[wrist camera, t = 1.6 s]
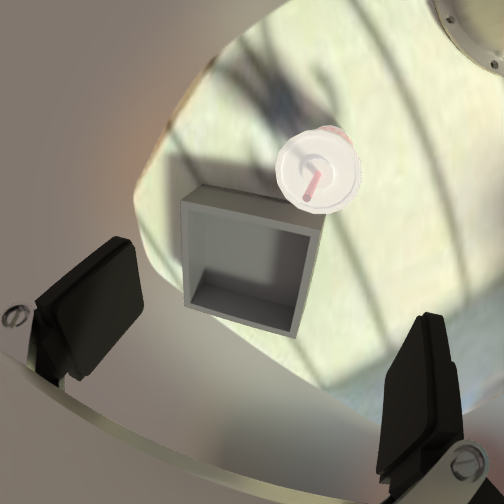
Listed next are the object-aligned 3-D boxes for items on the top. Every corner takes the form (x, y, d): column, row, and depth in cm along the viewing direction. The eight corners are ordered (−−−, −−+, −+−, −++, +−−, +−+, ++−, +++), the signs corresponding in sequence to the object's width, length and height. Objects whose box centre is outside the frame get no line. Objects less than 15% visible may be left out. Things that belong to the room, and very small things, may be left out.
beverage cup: (357, 184, 30) (352, 256, 18) (295, 174, 31) (251, 237, 20) (365, 122, 26) (370, 152, 15) (299, 113, 28) (254, 137, 17)
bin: (202, 184, 35) (180, 200, 31) (326, 209, 32) (320, 230, 28) (202, 283, 42) (184, 306, 38) (303, 310, 39) (295, 338, 35)
